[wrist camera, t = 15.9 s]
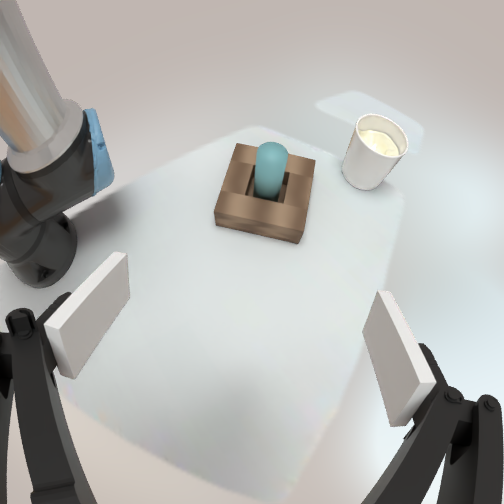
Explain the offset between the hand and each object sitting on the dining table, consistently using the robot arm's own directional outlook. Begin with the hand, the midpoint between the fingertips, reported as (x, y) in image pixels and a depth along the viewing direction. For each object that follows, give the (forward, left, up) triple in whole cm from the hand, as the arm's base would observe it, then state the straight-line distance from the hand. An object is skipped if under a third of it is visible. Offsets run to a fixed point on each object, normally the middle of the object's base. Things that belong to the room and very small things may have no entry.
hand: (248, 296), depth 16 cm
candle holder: (+15, +36, -33) cm, 51 cm away
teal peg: (-2, +25, -32) cm, 40 cm away
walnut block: (-2, +25, -33) cm, 41 cm away
